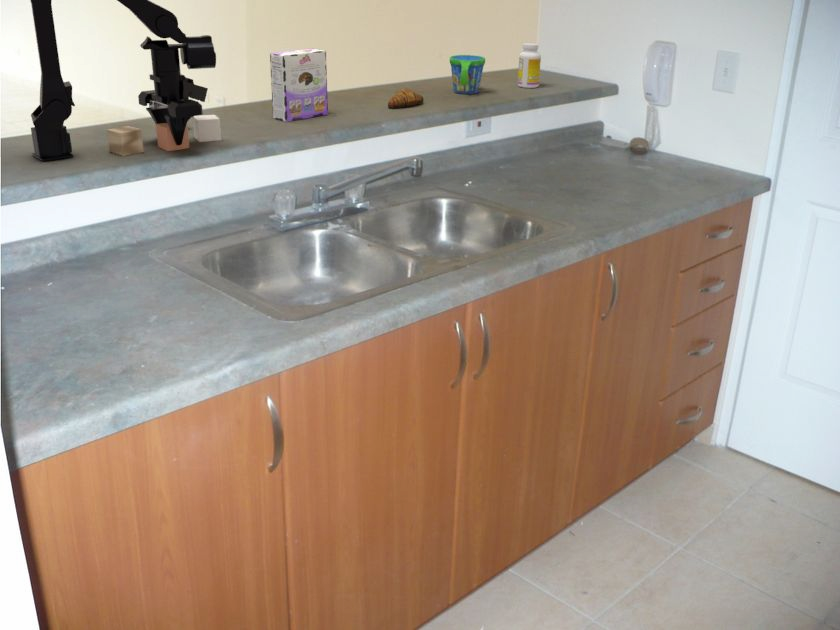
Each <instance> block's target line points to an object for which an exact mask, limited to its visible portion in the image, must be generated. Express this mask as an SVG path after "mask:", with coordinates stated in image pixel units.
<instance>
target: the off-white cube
mask: <svg viewBox="0 0 840 630" xmlns="http://www.w3.org/2000/svg"><path fill="white" fill-rule="evenodd" d="M192 124H193V125H192V126H193V135H194V139H196V140H197V141H198V142H199V143H203V142H204V143H205V142H206V143H207V142H214V141H215V142H218V141H222V132H221V130H222V129H221V119H220V117H218V116H217V115H215V114H204V115H203V114H202V115H197V116H194V117H192Z"/></svg>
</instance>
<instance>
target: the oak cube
mask: <svg viewBox="0 0 840 630" xmlns="http://www.w3.org/2000/svg"><path fill="white" fill-rule="evenodd" d="M106 132H107V138H108V146H109V153H111V152H113V153H112V154H114V153H116V154H115V155H118V154H119V155H118V156H121V155H122V156H121V157H126V155H127V156H132V155H137V154H140V153H141V152H142V153H144V152H145V151H144V143H143V134H142V129H141V128H137V127H133V126H129V125H125V126H119V127H113V128H108V129H106ZM131 154H132V155H131Z"/></svg>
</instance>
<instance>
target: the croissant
mask: <svg viewBox="0 0 840 630" xmlns="http://www.w3.org/2000/svg"><path fill="white" fill-rule="evenodd" d="M424 100H425V99H424V96H422V94H420V93H417V92H414V91H412V90H410V89H408V88H403V89H400V90H399V91H396V92H395V94H394V95H393V96H392V97H391V98H390V99H389V101H388V103H387V107H388V108H389V109H402V108H403V109H404V108H409V107H411V108H412V107H414V106H418V105H421V104H422V103H424Z"/></svg>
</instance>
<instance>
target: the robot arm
mask: <svg viewBox="0 0 840 630" xmlns="http://www.w3.org/2000/svg"><path fill="white" fill-rule="evenodd" d="M29 1H30V4H31V5H30V7H31V12H32V17H33V19H32V20H33V25H34V32H35V40H36V44H37V45H36V46H37V52H38V58H39V59H38V60H39V65H40V74H41V75H40V85H39V105H38V106H37V107H36V108H35V109H34V110H33V111H32V113H31V114H30V117H31V120H32V125H33V126H34V127H33V126H32V127H30V131H31V138H32V145H33V150H34V152H32V153H31V156H33V158H36V159H38V160H40V161H41V162H47V161H55V160H61V159H68V158H74V154H73V153H72V152H73V148H72V140H71V133H69V132H68V129H67V126H66V125H64V123H65V121H67V120H68V119H69V118H70V116H71V115H72V111H73V107H76V105H75V102H74V101H73V85H72V83H71V82H70V81H69V80H68V81H64V78H63V76H62V72H61V64H60V63H61V62H60V56H59V51H58V43H57V34H56V29H55V21H54V14H53V13H54V12H53V7H52V0H29ZM116 1H117V2H119V3H120V4H122V6H124V7H125V8H127V9H128V10H129V11H130V12H131V13H132V14H134V16H135V17H136V18H137V19H138V20H139V22H141V23H142V25H143V26H145V27H146V28H147V30H148V31H150V32H151V33H152V34H154V35H155V36H157V37H159V38H160V39H152V38H151V37H149V36H146V38H145V39H144V41H142V42H141V44H140V45H139V46H140V48H142V49H143V50H145V51H146V50H150V57H151V67H152V69H151V70H152V74H149V80H150V81H153V85H154V89H152V90H142V91H141V92H140V93H139V94H138V96H137V98H138V105H140V106H142V107H145V110H146V112H148V113H149V115H150V117H151V118H152V120H153V121H154V124H155V125H156V124H161V123H168V126H169V128H170V131H171V133H172V136H173V138H174V140H175V143H176V145H181V144H182V141H183V136H184V132H185V128H186V124H187V121H188V120H189V121H190V120H191V118H193V117H194V116H201V115H203V105H202V104H201V103H206V98H207V93H208V88H207V87H206V86H202V85H198V84H195V83H194V79H192V78H189V77H186V76H185V75H184V74H181V63H182V65H186V67H187V69H188V70H197V69H198V70H201V69H215V68H216V66H217V53H216V52H215V46H214V43H213V38H212V36H211V35H209V34H204V35H203V34H202V35H199V36H187V35H186V33H184V32H183V31H182V30H181V28H180V27H179V22H178V18H177V16H176V15H175V14H174V13H173V12H171V11H170V10H168V9H167V8H165V7H162V6H161V5H158V4H156V3H154V2H153V1H151V0H116ZM169 38H170V39H172V40H173V41H175V42H176V43H168V41H167V39H169ZM179 49H180V51H179ZM180 60H181V61H180ZM180 62H181V63H180ZM199 101H200V102H201V103H200V102H199ZM147 106H148V107H147Z"/></svg>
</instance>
